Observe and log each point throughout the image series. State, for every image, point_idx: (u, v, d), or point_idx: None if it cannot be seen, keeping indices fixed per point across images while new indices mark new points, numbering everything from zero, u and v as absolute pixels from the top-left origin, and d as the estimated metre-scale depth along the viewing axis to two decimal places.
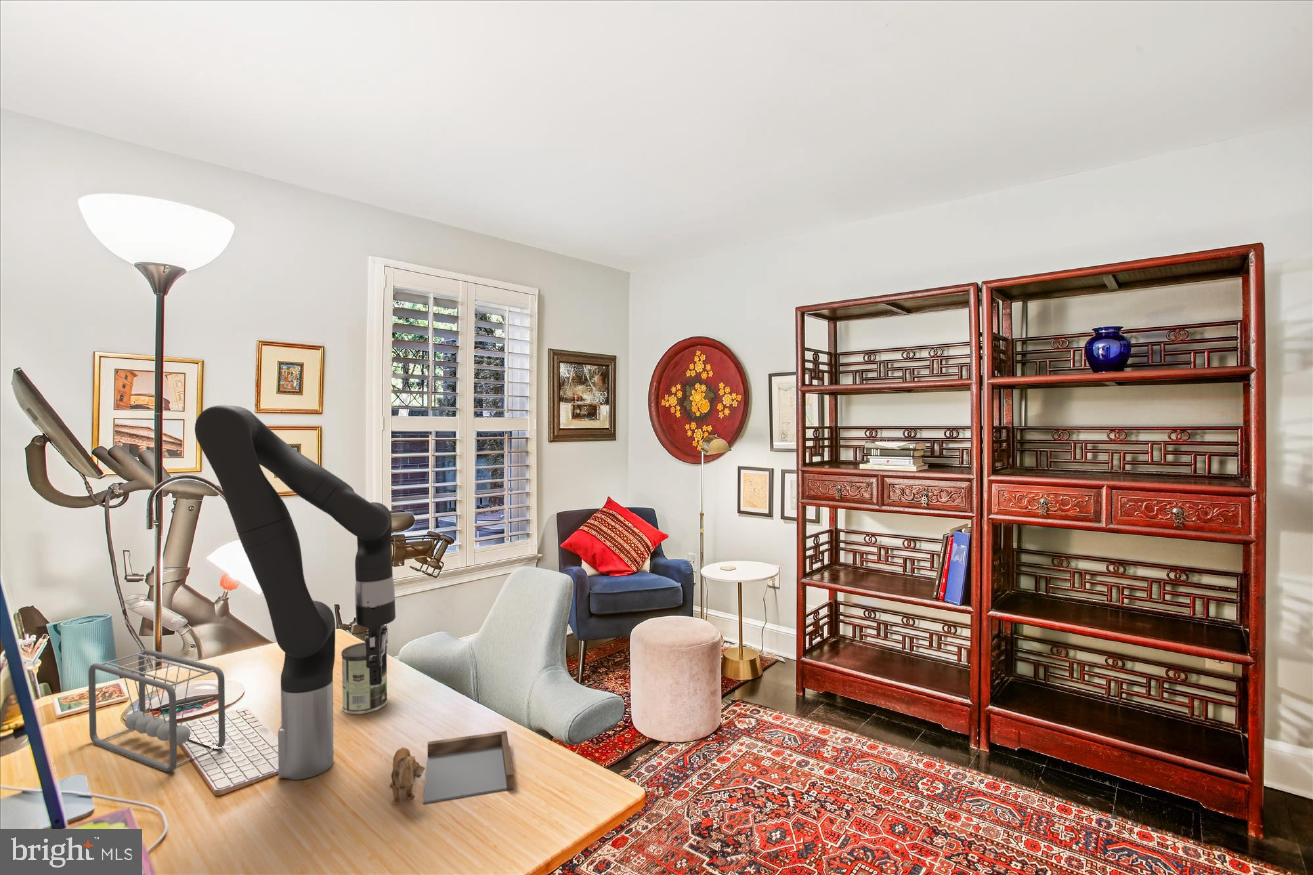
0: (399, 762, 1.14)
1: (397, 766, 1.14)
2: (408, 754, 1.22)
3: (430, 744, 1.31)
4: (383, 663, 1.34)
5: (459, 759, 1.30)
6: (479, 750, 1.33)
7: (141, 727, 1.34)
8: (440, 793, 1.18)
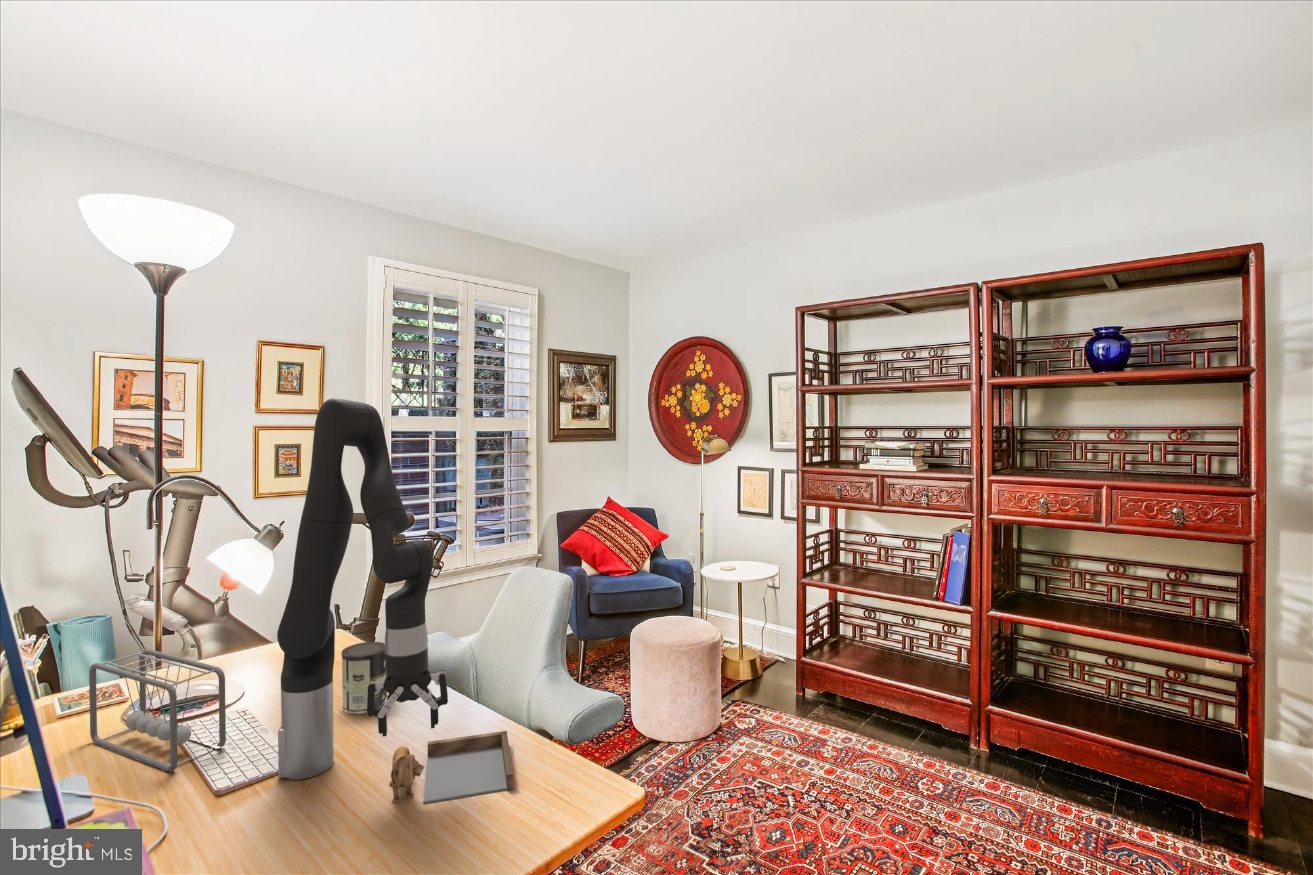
0: (399, 761, 1.15)
1: (397, 764, 1.14)
2: (408, 753, 1.22)
3: (430, 744, 1.31)
4: None
5: (459, 759, 1.30)
6: (479, 750, 1.33)
7: (141, 727, 1.34)
8: (440, 793, 1.18)
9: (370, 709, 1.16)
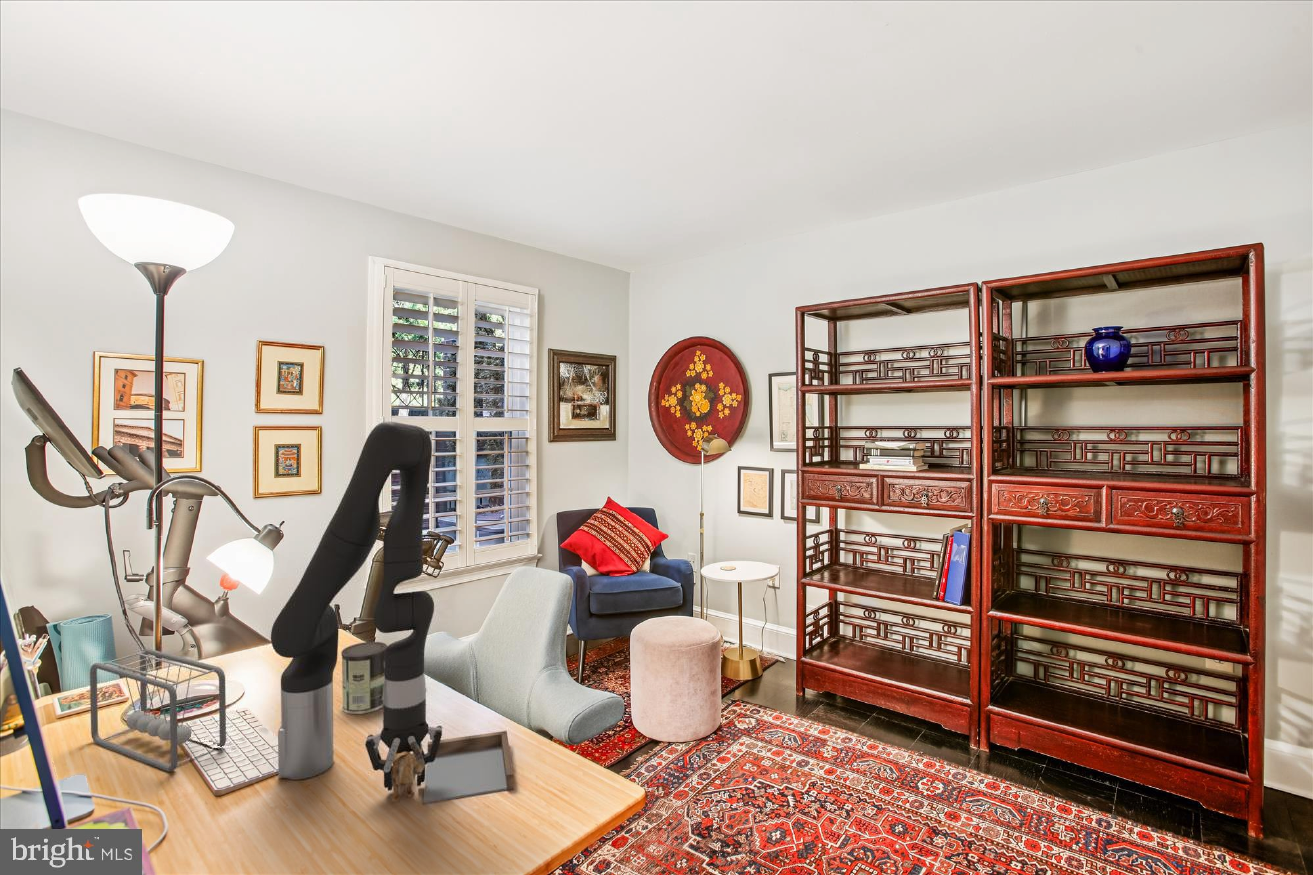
0: (399, 759, 1.15)
1: (397, 763, 1.15)
2: (408, 752, 1.22)
3: (430, 744, 1.31)
4: (392, 780, 1.19)
5: (459, 759, 1.30)
6: (479, 750, 1.33)
7: (142, 727, 1.34)
8: (440, 793, 1.18)
9: (376, 763, 1.16)
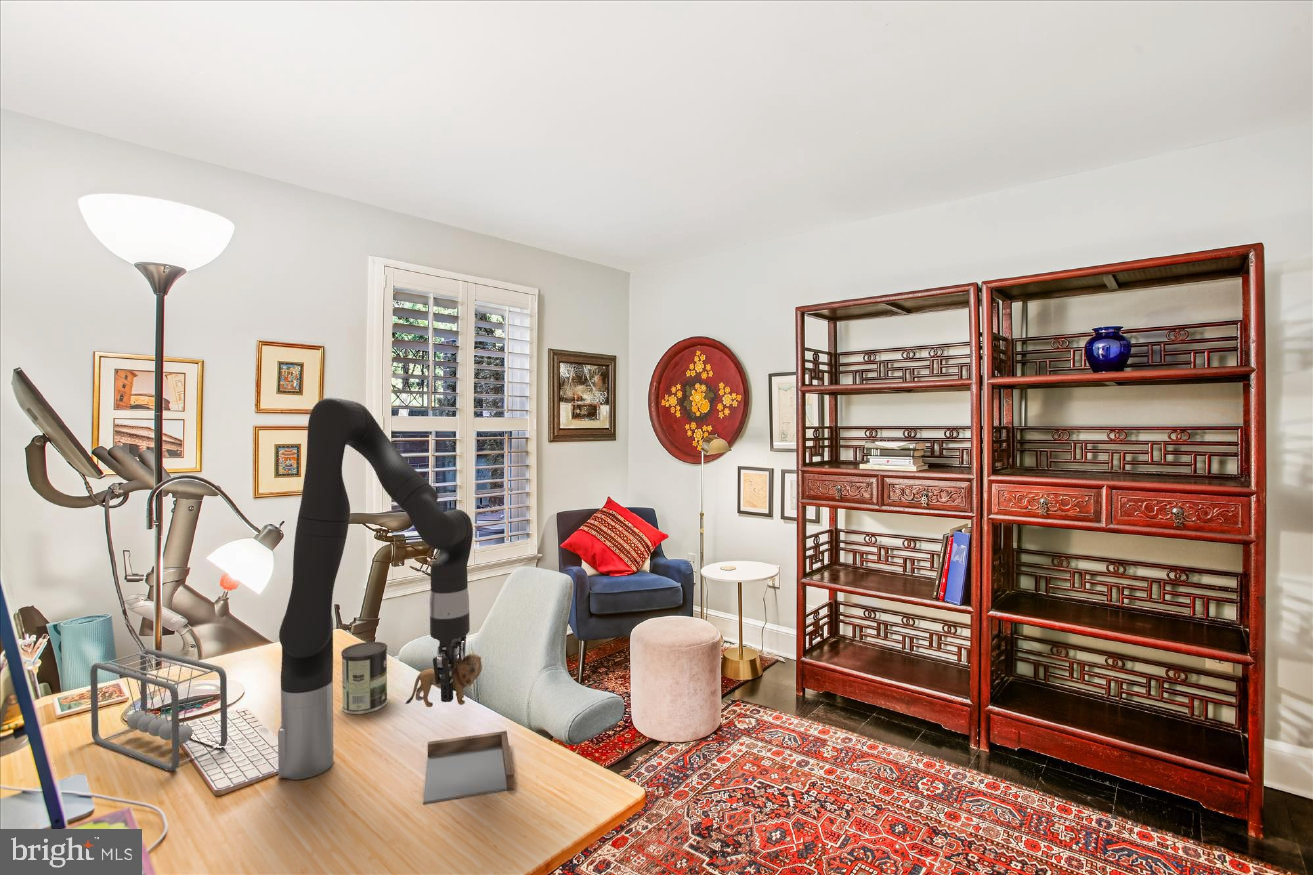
0: (468, 661, 1.24)
1: (468, 665, 1.24)
2: None
3: (430, 744, 1.31)
4: None
5: (459, 759, 1.30)
6: (479, 750, 1.33)
7: (143, 726, 1.35)
8: (440, 793, 1.18)
9: (449, 677, 1.20)
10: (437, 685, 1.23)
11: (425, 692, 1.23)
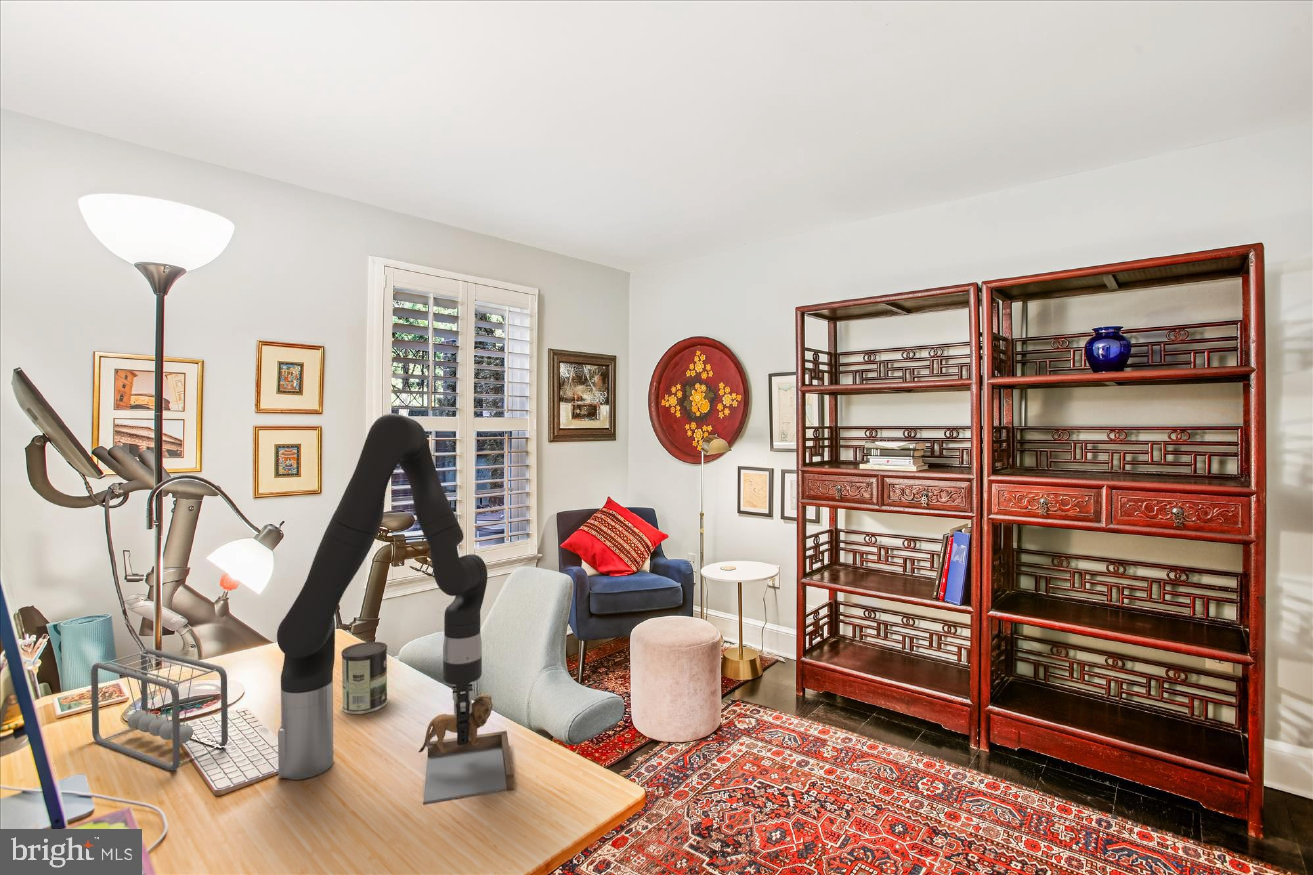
0: (482, 702, 1.28)
1: (482, 706, 1.27)
2: None
3: None
4: None
5: (459, 759, 1.30)
6: (479, 750, 1.33)
7: (143, 726, 1.35)
8: (440, 793, 1.18)
9: None
10: (452, 729, 1.25)
11: (440, 738, 1.24)
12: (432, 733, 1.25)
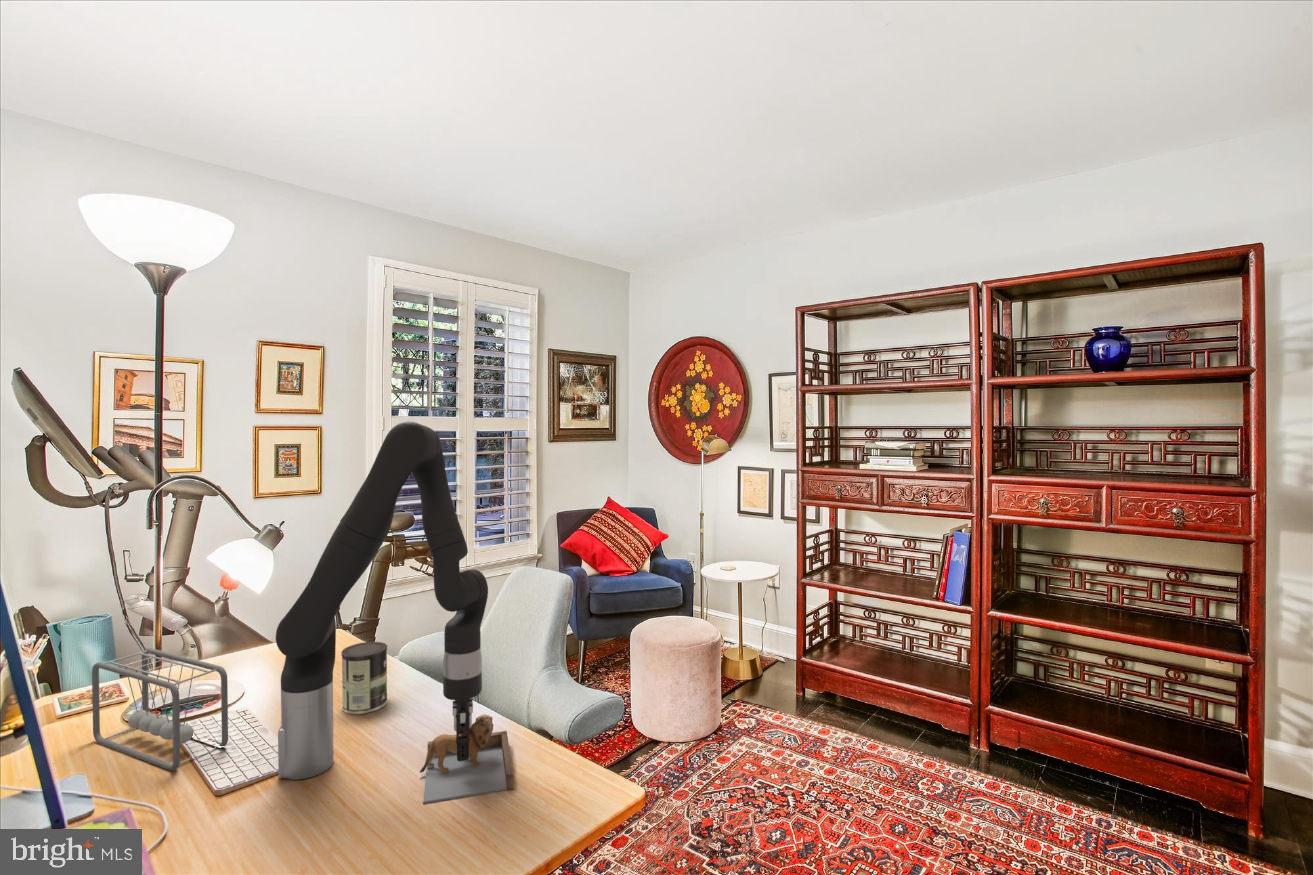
0: (482, 723, 1.28)
1: (483, 726, 1.28)
2: None
3: None
4: None
5: None
6: (479, 750, 1.33)
7: (144, 726, 1.35)
8: (440, 793, 1.18)
9: None
10: (452, 750, 1.26)
11: (441, 758, 1.25)
12: (433, 753, 1.26)
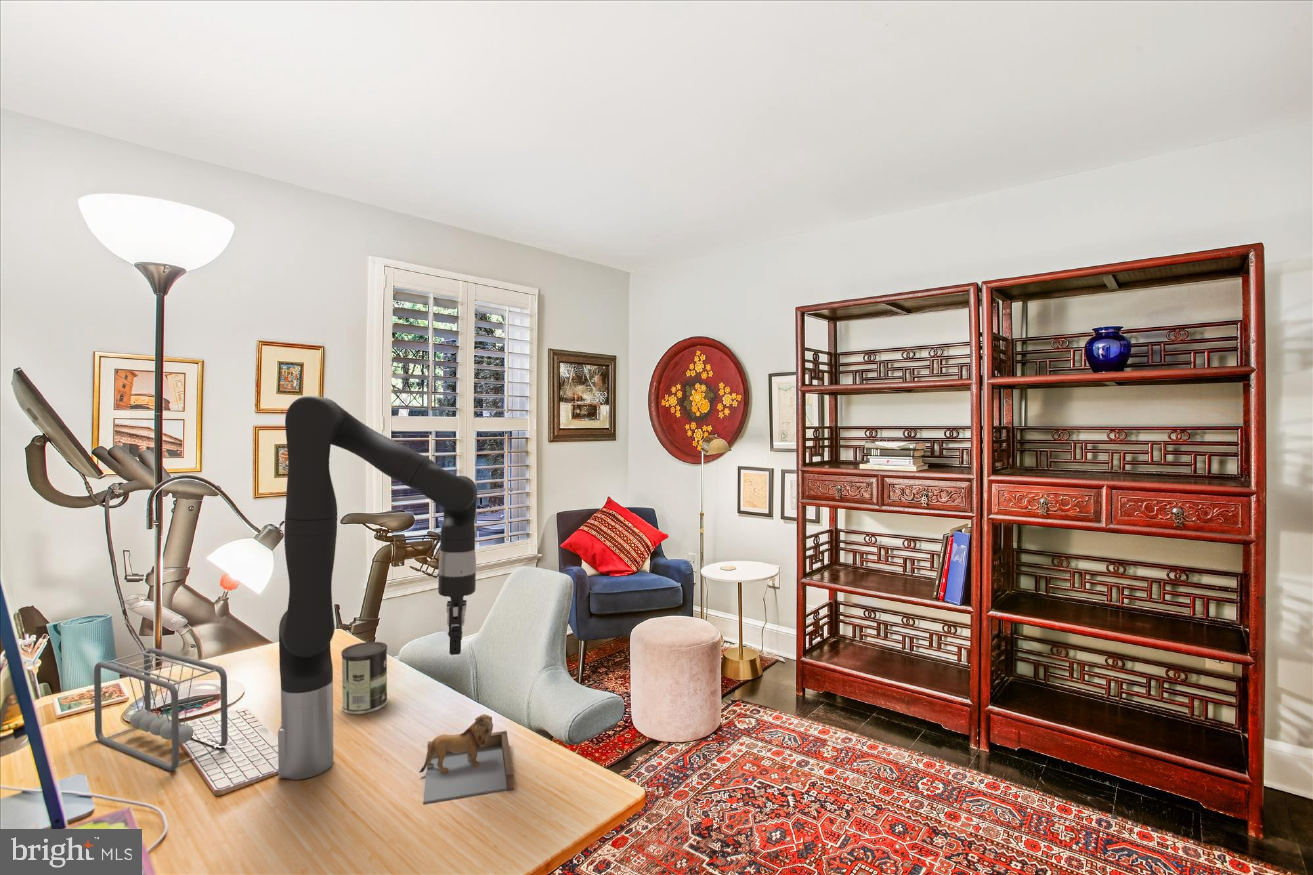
0: (482, 723, 1.28)
1: (483, 726, 1.28)
2: None
3: None
4: None
5: (459, 759, 1.30)
6: (479, 750, 1.33)
7: (145, 725, 1.35)
8: (440, 793, 1.18)
9: (461, 629, 1.26)
10: (452, 750, 1.26)
11: (440, 758, 1.25)
12: (433, 753, 1.26)
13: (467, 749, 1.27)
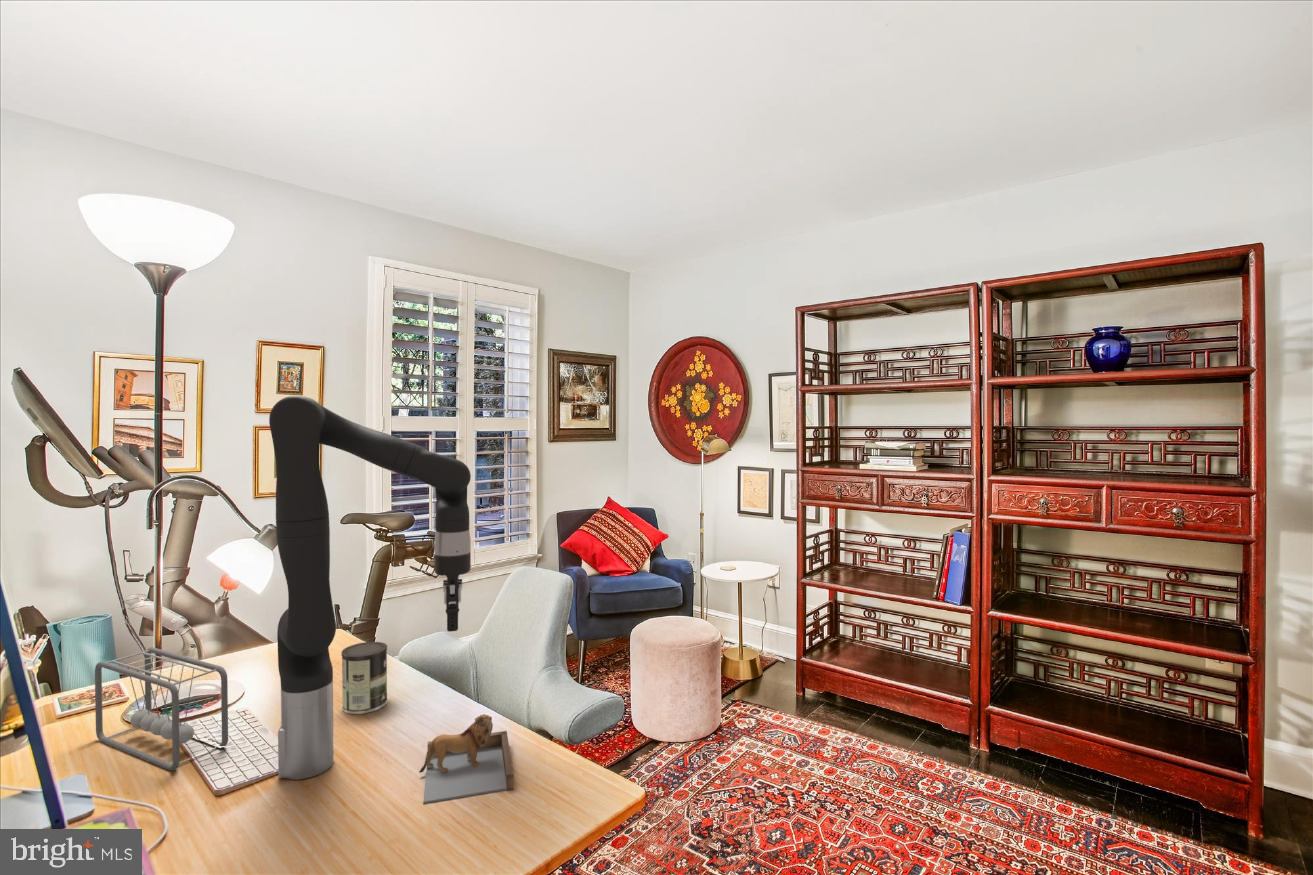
0: (482, 723, 1.28)
1: (482, 726, 1.28)
2: None
3: None
4: None
5: (459, 759, 1.30)
6: (479, 750, 1.33)
7: (145, 725, 1.35)
8: (440, 793, 1.18)
9: (458, 606, 1.30)
10: (452, 750, 1.26)
11: (440, 758, 1.25)
12: (432, 753, 1.26)
13: (467, 749, 1.27)
